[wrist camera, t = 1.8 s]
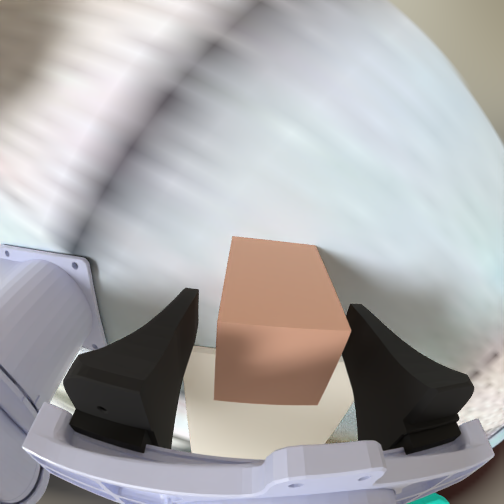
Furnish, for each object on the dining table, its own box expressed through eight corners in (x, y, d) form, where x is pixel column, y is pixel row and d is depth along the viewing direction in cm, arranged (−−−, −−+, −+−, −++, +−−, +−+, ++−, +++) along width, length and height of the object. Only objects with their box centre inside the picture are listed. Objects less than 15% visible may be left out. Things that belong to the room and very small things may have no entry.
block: (226, 305, 17) (213, 400, 11) (232, 236, 15) (217, 321, 9) (299, 311, 17) (317, 405, 11) (315, 245, 15) (351, 330, 9)
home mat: (192, 449, 26) (191, 453, 26) (183, 343, 19) (181, 349, 18) (312, 454, 27) (313, 459, 26) (374, 355, 19) (376, 361, 19)
